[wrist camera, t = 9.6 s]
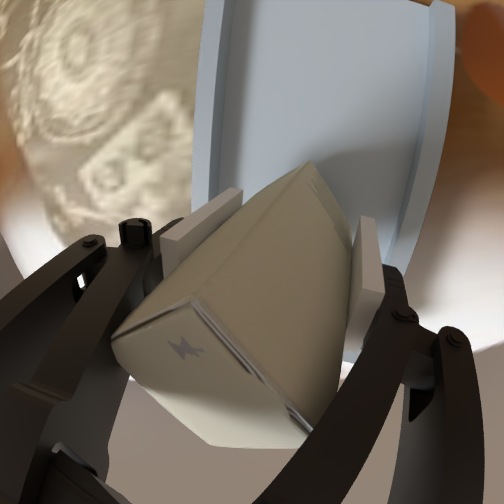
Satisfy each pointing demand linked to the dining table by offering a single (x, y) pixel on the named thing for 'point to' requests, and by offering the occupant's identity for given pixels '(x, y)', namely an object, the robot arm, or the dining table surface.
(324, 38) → the blue-grey tray
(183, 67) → the dining table surface
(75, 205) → the dining table surface
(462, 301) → the dining table surface
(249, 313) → the box
